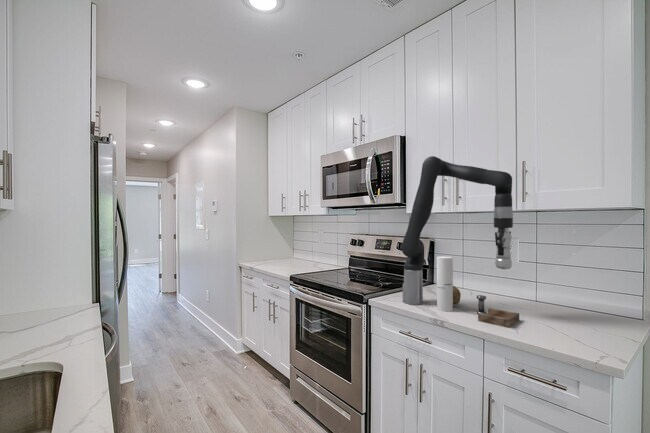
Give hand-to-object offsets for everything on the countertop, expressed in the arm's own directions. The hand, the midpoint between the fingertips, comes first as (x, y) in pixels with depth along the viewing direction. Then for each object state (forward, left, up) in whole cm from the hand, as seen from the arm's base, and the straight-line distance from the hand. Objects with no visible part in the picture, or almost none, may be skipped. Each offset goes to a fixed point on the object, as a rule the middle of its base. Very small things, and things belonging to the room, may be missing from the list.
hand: (503, 254), depth 146 cm
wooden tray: (+1, -10, -27) cm, 29 cm away
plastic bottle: (0, 0, -7) cm, 7 cm away
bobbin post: (-8, -5, -27) cm, 29 cm away
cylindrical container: (-23, -10, -27) cm, 37 cm away
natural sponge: (-24, -1, -27) cm, 36 cm away
